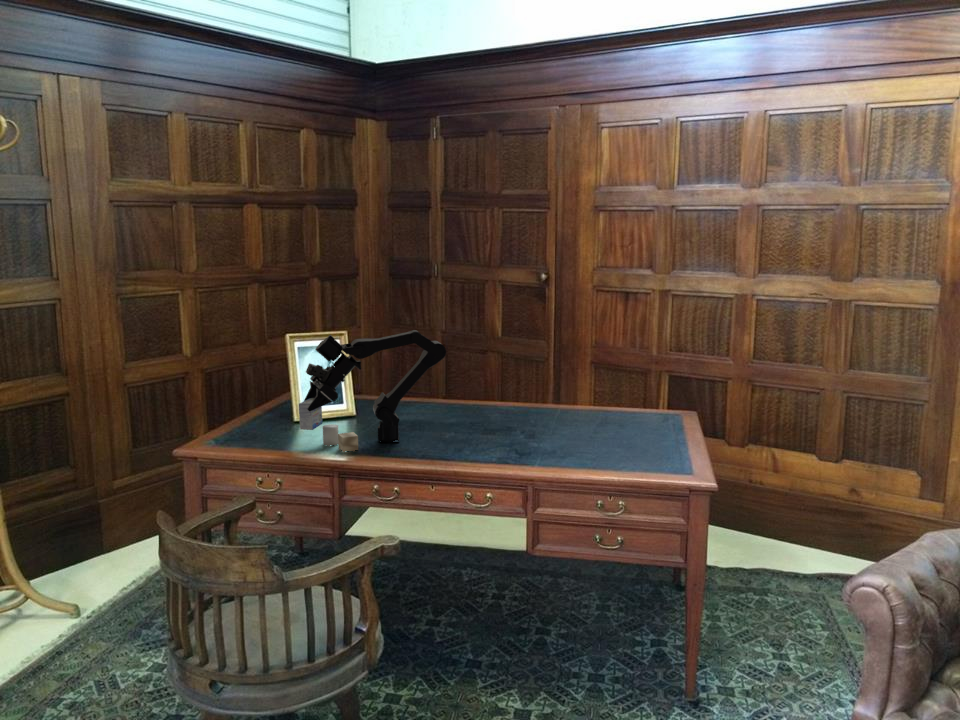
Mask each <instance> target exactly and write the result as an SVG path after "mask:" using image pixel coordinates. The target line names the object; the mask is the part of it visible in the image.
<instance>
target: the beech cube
mask: <svg viewBox="0 0 960 720" xmlns="http://www.w3.org/2000/svg"><path fill="white" fill-rule="evenodd" d="M337 446H338V449H339V450H340V449H341V450H342V451H343V452H345V451H353V452H356V451H355V450H358V451H359V436H358V434H356V433H355V432H354V431H351V432H342V433H341V432H340V433H338V445H337ZM341 450H340V451H341ZM342 451H341V452H342ZM343 452H342V453H343ZM345 453H346V452H345Z"/></svg>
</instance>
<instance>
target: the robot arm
mask: <svg viewBox="0 0 960 720" xmlns="http://www.w3.org/2000/svg"><path fill="white" fill-rule="evenodd" d="M413 344H415V345H416V346H418V347H420V348H421V349H423V350H422V352H421V354H420V357H419V359H418V360H417V362H415V364H413V366H412V367H411V369H409V370H408V371H407V373H406V374H405V375H404V376H403V377H402V378H401V380H400V381H399V382H398V383H397V384H396V385H395V386H394V387H393V388H392V389H391V390H390V391H389V392H388V393H386V394H385V393H384V392H383V391H381V392H380V394H379V396H378V397H377V398H376V399H374V403H373V405H372V410H373V413H374V415H375V417H376V418H377V419H378V420H379V422H378V423H379V425H378V426H377V440H378V441H379V442H380V441H381V442H393V441H395V440H399V441H400V434H399V431H400V430H399V424H400V423H399V422H400V417H399V416H398V415H397V413H396V410H397V408H398V406H399V404H400V403H401V402H400V401H401V400H402V399H403V398H404V397H405V395H406V394H407V393H408V392H409V391H410V390H411V389H412V387H414V386H415V384H416V383H417V382H418V381H419V380H420V379H421V378H422V377H423V375H424V374H425V373H426V372H427V371H428V370H429V369H430V368H432V367H433V366H436V365H437V364H438V363H440V362H441V361H442V360H444V359H445V358H446V356H447V349H446V346H444V344H442V343H441V342H440V341H438V340H430V338H428V337H426V336H425V335H423V334H421V332H419V331H418V330H415V329H413V330H409V331H407V332H402V333H398V334H397V333H396V334H392V335H387V336H383V337H378V338H355V339H354V340H352V341H351V342H349V343H344V344H340V342H339V341H338V340H336V339H335V338H334V337H333V335H331V334H329V335H328V336H327V337H325V338H324V339H323V340H321V341H320V342H319V344H318V345H317V346H316V347H315V351H316V352H317V353H318V354H319V355H320V356H322V357H323V358H324V359H325V360H326V361H327V362H331V361H332V362H334V363H332V365H331V366H327V367H325V368H324V367H323V366H322V365H319V364H312V363H311V362H310V363H308V365H307V368H306V370H305V373H306V374H307V375H308V376H311V377H310V378H309V385H310V386H309V388H310V389H309V390H308V392H307V393H306V396H305V398H304V399H303V401H305V400H307V399H309V398H314V400H313V401H312V403H311V404H310V406H309V407H308V409H307V410H308V411H312V410H314V409H316V408H319V407H321V406H322V407H323V406H325V405H327V404H330V403H332V402H333V403H334V402H336V400H337V399H338V398H339V394H338V392H337V387H338V386H339V385H340V384H341V383H344V382H345V381H346V380H345V379H346V377H347V376H348V375H349V374H350V373H351V371H353V369H355V367H356V368H357V369H358V370H362V361H361V360H363V359H366V358H368V357H370V356H373V355H374V354H376V353H379V352H381V351H384V350H390V349H394V348H395V349H396V348H400V347H403V346H408V345H413ZM342 351H343V352H342ZM347 355H349V356H347ZM355 358H356V359H358V360H356V359H355Z"/></svg>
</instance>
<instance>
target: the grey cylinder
mask: <svg viewBox="0 0 960 720" xmlns="http://www.w3.org/2000/svg"><path fill="white" fill-rule="evenodd" d="M338 434H339V425H338V424H336V423H335V424H334V423H333V424H331V423H330V424H323V426H322V442H323V443H322V444H324V445H327V446H326V447H331V446H330V445H336V446H338V445H337V444H338ZM324 445H323V446H324Z"/></svg>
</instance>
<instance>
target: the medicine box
mask: <svg viewBox="0 0 960 720" xmlns="http://www.w3.org/2000/svg"><path fill="white" fill-rule="evenodd" d="M313 400H314V398H309V399H307V400H305V401H304V400H303V401H301V402H300V403H298V414H299V415H298V416H299V428H300V430H304V431H305V430H307V431H314V430H315V429H316V428H318V427H320V426H321V425H323V408H322V407H323V406H321V407H319V408H316V409H314V410H312V411H308V410H307V409H308V407H309V406H310V404H311V403H312V401H313Z"/></svg>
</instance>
